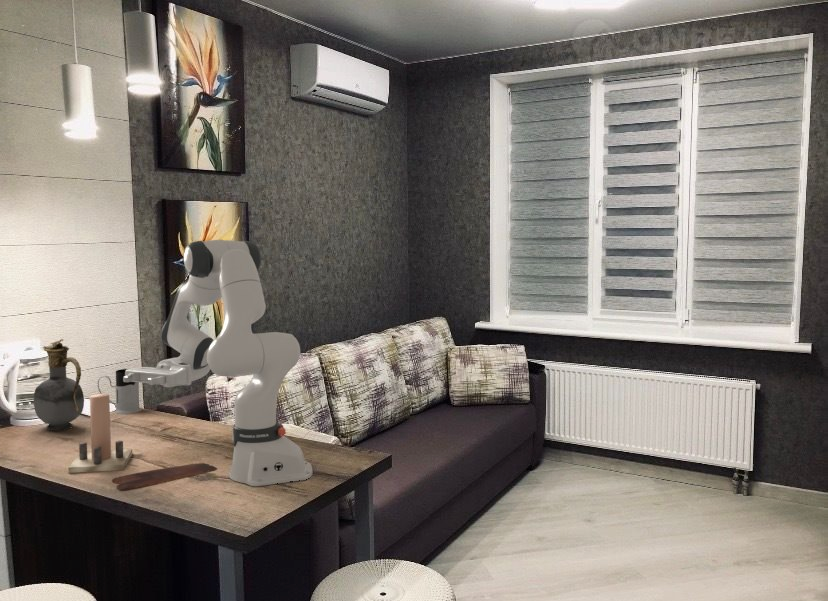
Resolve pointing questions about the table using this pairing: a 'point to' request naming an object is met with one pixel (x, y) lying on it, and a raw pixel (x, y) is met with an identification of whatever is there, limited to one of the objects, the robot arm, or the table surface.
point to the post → (100, 424)
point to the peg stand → (100, 459)
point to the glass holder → (125, 394)
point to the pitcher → (59, 391)
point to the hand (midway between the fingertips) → (137, 380)
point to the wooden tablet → (160, 475)
